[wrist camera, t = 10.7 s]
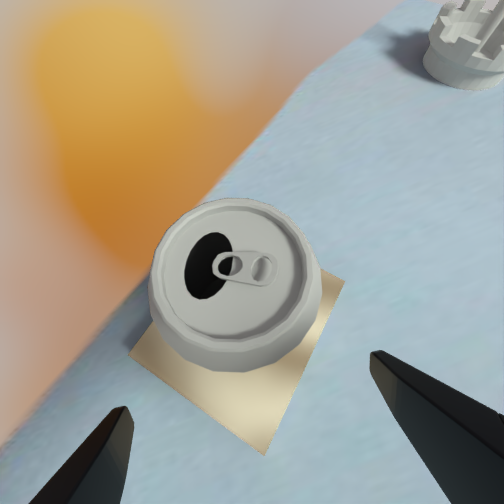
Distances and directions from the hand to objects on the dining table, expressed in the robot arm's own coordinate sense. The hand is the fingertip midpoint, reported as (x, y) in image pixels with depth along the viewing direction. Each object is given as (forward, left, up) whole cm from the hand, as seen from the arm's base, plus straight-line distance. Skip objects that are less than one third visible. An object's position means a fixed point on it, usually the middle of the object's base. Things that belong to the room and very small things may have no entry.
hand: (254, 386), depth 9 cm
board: (+4, 0, -12) cm, 13 cm away
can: (+4, 0, -10) cm, 11 cm away
